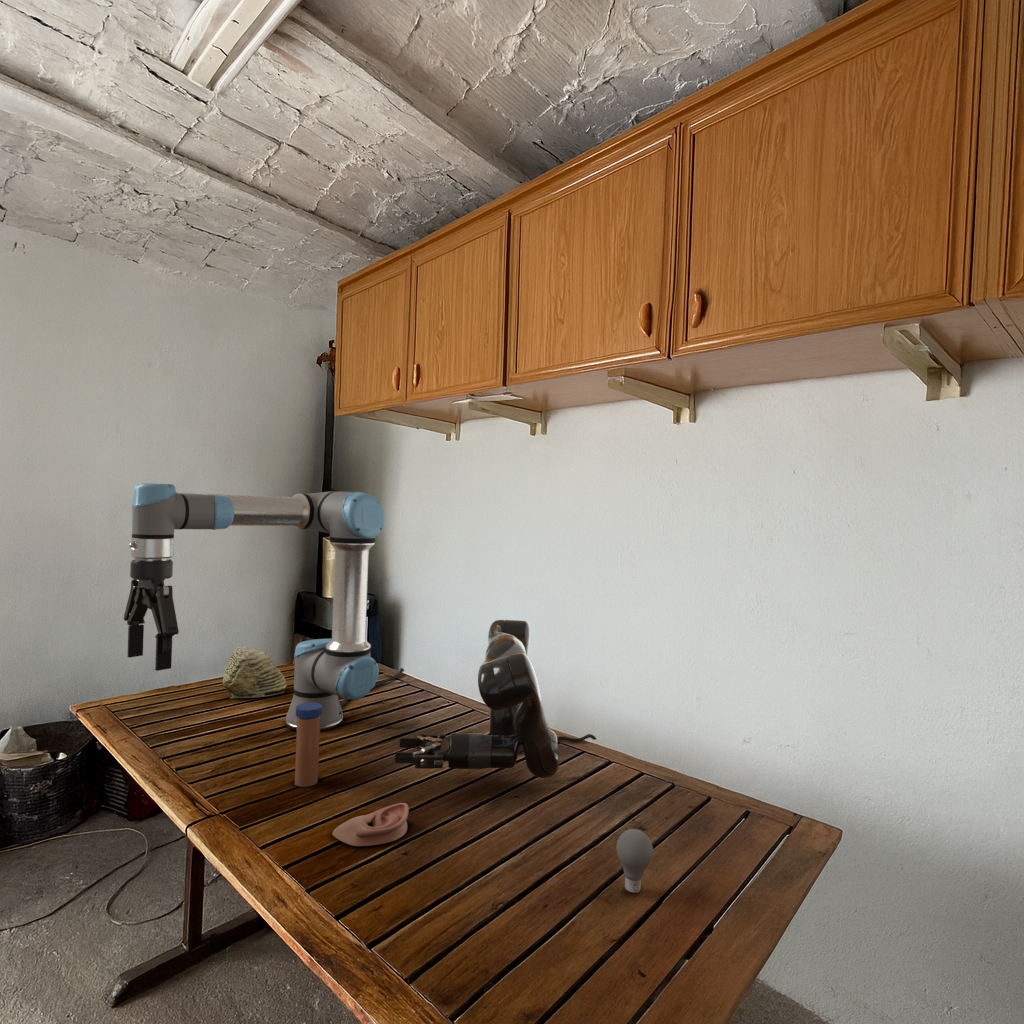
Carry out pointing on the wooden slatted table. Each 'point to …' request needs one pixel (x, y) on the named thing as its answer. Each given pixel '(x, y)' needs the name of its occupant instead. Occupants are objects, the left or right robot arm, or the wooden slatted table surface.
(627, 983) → the wooden slatted table surface
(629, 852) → the light bulb
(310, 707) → the lid
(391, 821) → the anatomical model
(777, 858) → the wooden slatted table surface
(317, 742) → the brown tall cylinder
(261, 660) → the fossil
